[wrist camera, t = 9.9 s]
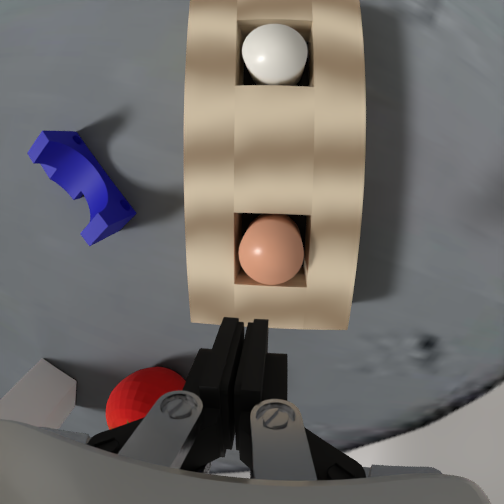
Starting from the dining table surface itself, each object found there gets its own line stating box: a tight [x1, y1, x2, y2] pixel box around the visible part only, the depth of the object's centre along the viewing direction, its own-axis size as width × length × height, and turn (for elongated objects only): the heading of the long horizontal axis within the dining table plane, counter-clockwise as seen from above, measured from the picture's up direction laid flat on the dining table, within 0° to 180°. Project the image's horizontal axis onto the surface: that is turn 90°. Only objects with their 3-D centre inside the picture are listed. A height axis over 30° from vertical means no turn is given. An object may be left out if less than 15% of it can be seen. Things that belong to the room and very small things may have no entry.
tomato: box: [106, 367, 186, 429], centre depth 32 cm, size 10×11×11 cm
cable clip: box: [28, 131, 137, 246], centre depth 27 cm, size 12×4×6 cm, turn 38°
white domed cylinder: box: [242, 24, 308, 86], centre depth 22 cm, size 5×5×5 cm
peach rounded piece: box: [239, 213, 304, 285], centre depth 26 cm, size 5×5×5 cm
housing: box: [184, 0, 366, 330], centre depth 25 cm, size 30×14×5 cm, turn 179°
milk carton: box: [0, 358, 77, 429], centre depth 31 cm, size 7×7×19 cm
